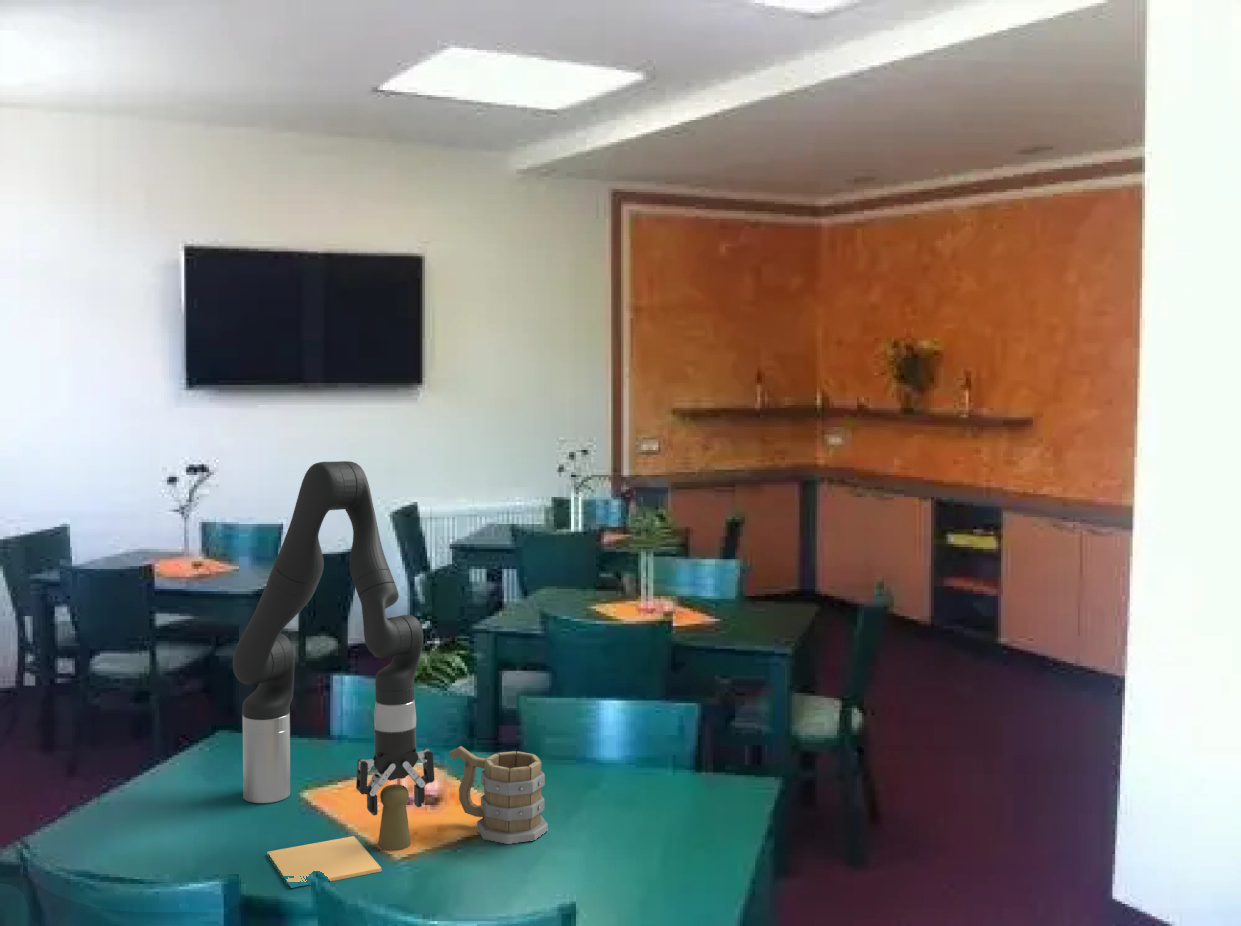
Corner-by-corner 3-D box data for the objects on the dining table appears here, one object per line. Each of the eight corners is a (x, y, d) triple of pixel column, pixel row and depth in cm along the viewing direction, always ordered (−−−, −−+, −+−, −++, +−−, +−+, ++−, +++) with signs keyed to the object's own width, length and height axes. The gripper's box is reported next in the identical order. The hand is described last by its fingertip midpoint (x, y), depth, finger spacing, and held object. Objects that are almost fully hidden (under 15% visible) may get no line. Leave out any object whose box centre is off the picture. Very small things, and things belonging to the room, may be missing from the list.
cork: (403, 852, 228) (403, 793, 227) (372, 848, 230) (372, 790, 229) (415, 839, 234) (415, 782, 233) (385, 836, 236) (385, 779, 235)
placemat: (267, 855, 226) (267, 851, 226) (353, 839, 234) (353, 836, 234) (290, 889, 212) (290, 886, 212) (381, 871, 220) (381, 868, 220)
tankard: (556, 825, 242) (558, 750, 241) (524, 849, 231) (525, 770, 230) (468, 807, 251) (469, 735, 249) (433, 829, 239) (434, 753, 238)
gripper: (424, 713, 237) (425, 797, 238) (351, 724, 230) (352, 810, 231) (439, 724, 230) (439, 809, 232) (364, 735, 223) (364, 823, 225)
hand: (395, 810), depth 231 cm, fingers open, 8 cm apart
